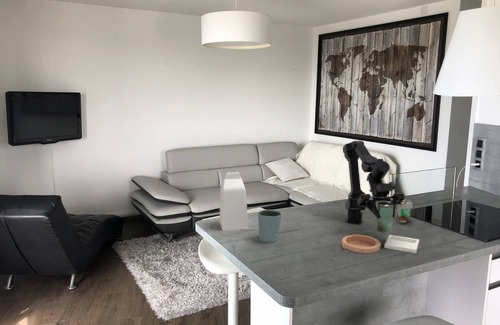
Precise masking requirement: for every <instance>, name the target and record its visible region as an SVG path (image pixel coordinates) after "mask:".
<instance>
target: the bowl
mask: <svg viewBox="0 0 500 325" xmlns="http://www.w3.org/2000/svg"><path fill="white" fill-rule="evenodd" d="M381 245H382V242H380V240H379V239H378V238H375V237H373V236H369V235H364V234H349V235H346V236H344V237H343V238H342V239H341V246H342V249H343V250H345V249H346V250H349V251H351V252H354V253H359V254H372V253H373V254H374V253H376V252H379V251H380V250H381V248H382V246H381Z"/></svg>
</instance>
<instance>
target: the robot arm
mask: <svg viewBox="0 0 500 325" xmlns="http://www.w3.org/2000/svg"><path fill="white" fill-rule="evenodd" d="M342 153H343V156H344V158H345V160H346V161H347V162H348V172H349V174H348V175H349V182H350V183H349V184H350V191H349V193H348V196H347V200H346V202H345V203H344V206H345V210H347V220H346V223H352V224H356V225H357V224H358V225H360V224H361V223H362V222H363V220H364V212H363V211H366V208H367V209H368V210H369V211H370V212H371V213H372V214H373V215H374V216H375V217H376V219H377V218H378V219H379V213H378V206H377V204H376V203H377V202H378V203H379V202H389V203H392V204H394V206H393V219H394V218H395V217H396V216H395V215H396V208H397V205H399V204H401V203H402V202H403V201H404V199H406V196H405V193H402V192H395V193H393V194H392V195H391V196H388V195H390V192H393V191H394V190H396V189H397V185H396V183H395V181H390V182H389V181H388V182H387V183H386V182H384V181H383V179H384V178H385V177H386V176H387V174H388V172H389V171H390V170H391V165H390V164H389V163H388V162H387V161H385V160H384V158H377V157H376V156H373V155H372V154H371V152H370V151H369V150H368V148H367V147H366V145H365V142H364V141H363V140H353V141H351V142H348V143H345V144H344V145H343V147H342ZM359 159H360V161H361V165H360V167H361V170H362V171H363V172H364V173H368V175H367V177H366V181H367V182H368V185H369V193H365V191H363V190H362V188H361V186H362V185H361V178H360V176H361V175H360V169H359ZM370 193H371V194H370Z"/></svg>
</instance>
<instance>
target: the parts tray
mask: <svg viewBox="0 0 500 325" xmlns="http://www.w3.org/2000/svg"><path fill="white" fill-rule="evenodd" d="M419 244H420V239H418V238H411V237H406V236H405V237H404V236H401V235H400V236H399V235H392V234H389V235H388V237H387V238H386V240H385V242H384V249H389V250H395V251H400V252H406V253H412V254H417V252H418V248H419Z"/></svg>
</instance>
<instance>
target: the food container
mask: <svg viewBox="0 0 500 325" xmlns="http://www.w3.org/2000/svg"><path fill="white" fill-rule="evenodd" d="M413 206H414V205H413V203H412V201H411V200H409V199H406V198H405V199H404V201H403V202H402V203H401V204H399V205H396V219H397V221H398V224H400V225H405V224H408V223H410V216H411V211H412V208H413Z"/></svg>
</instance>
